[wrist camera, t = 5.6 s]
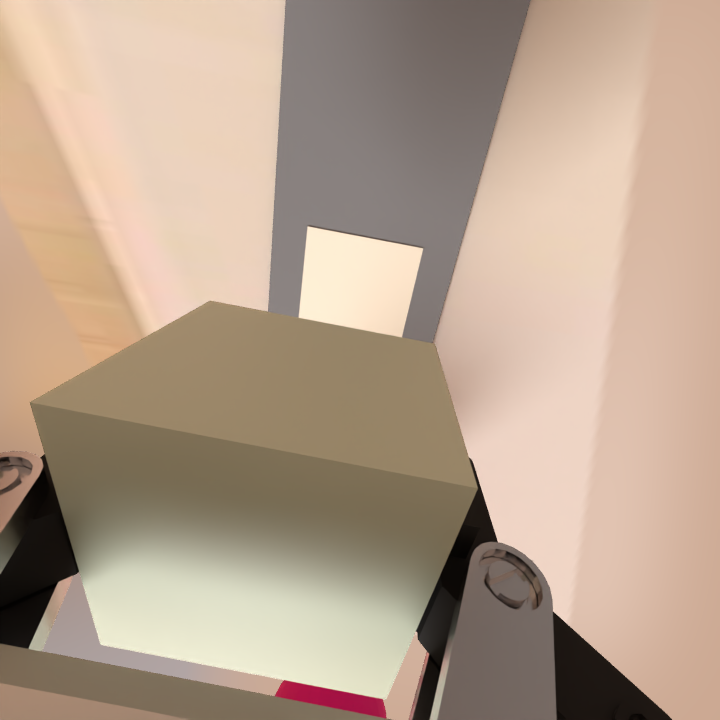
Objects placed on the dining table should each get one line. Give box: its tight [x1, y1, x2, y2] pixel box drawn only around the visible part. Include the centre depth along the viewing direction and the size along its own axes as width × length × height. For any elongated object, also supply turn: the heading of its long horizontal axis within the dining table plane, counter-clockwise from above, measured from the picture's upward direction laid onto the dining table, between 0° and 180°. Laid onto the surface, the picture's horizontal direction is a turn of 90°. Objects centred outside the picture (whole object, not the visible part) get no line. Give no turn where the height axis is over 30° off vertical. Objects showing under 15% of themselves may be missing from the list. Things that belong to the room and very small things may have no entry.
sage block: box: [30, 301, 478, 699], centre depth 8 cm, size 6×6×5 cm
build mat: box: [268, 0, 530, 343], centre depth 20 cm, size 28×12×1 cm, turn 170°
